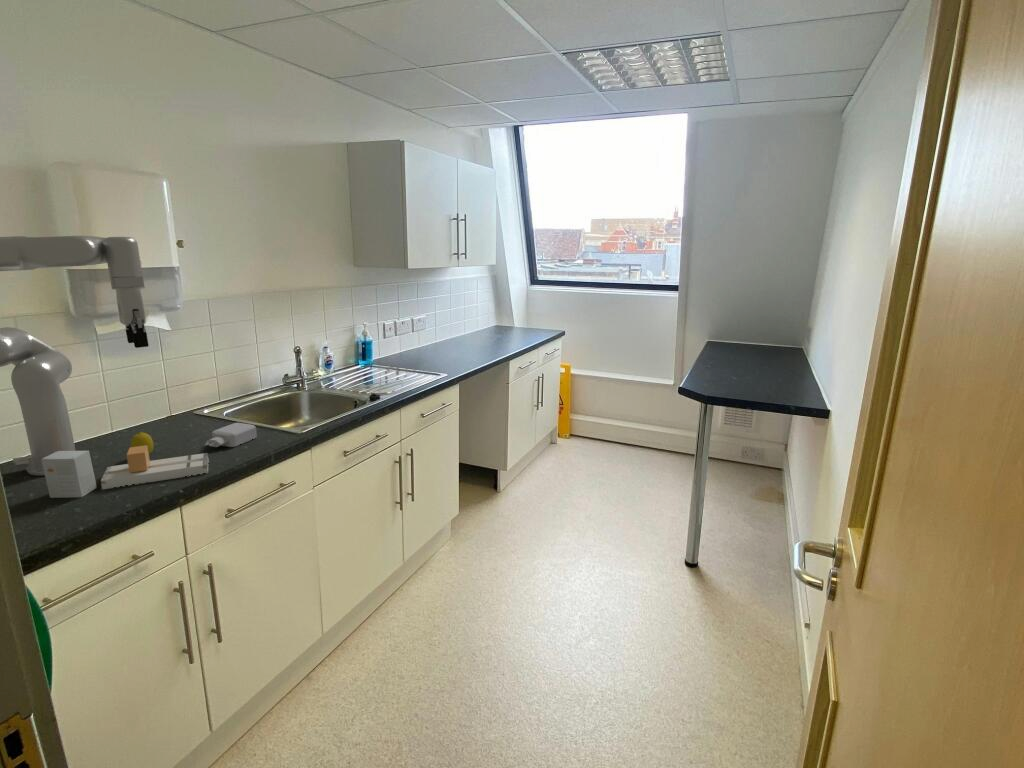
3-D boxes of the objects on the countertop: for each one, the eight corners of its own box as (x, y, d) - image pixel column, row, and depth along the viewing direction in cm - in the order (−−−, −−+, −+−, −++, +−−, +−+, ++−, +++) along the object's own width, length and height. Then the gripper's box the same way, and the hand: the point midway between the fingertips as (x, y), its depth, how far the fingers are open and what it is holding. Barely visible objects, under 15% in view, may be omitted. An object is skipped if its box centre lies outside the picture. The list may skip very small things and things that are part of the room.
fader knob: (130, 476, 146) (126, 454, 145) (133, 468, 151) (129, 447, 150) (148, 473, 148) (144, 452, 147) (150, 466, 153) (147, 445, 152)
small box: (97, 488, 143) (90, 450, 140) (81, 498, 138) (74, 458, 135) (65, 488, 143) (57, 450, 140) (48, 498, 137) (40, 458, 135)
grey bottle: (196, 450, 170) (235, 435, 184) (219, 454, 167) (257, 439, 181) (194, 436, 169) (233, 422, 182) (218, 439, 166) (255, 425, 180)
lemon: (151, 452, 167) (147, 427, 165) (158, 457, 164) (154, 431, 162) (130, 458, 163) (125, 432, 161) (136, 462, 160) (132, 436, 158)
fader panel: (102, 489, 142) (100, 480, 142) (109, 475, 151) (107, 466, 150) (207, 473, 153) (206, 464, 152) (208, 460, 162) (207, 452, 161)
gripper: (105, 282, 155) (116, 342, 159) (116, 285, 143) (128, 350, 147) (137, 281, 160) (147, 339, 164) (150, 284, 148) (160, 347, 152)
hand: (138, 344), depth 156 cm, fingers open, 9 cm apart
